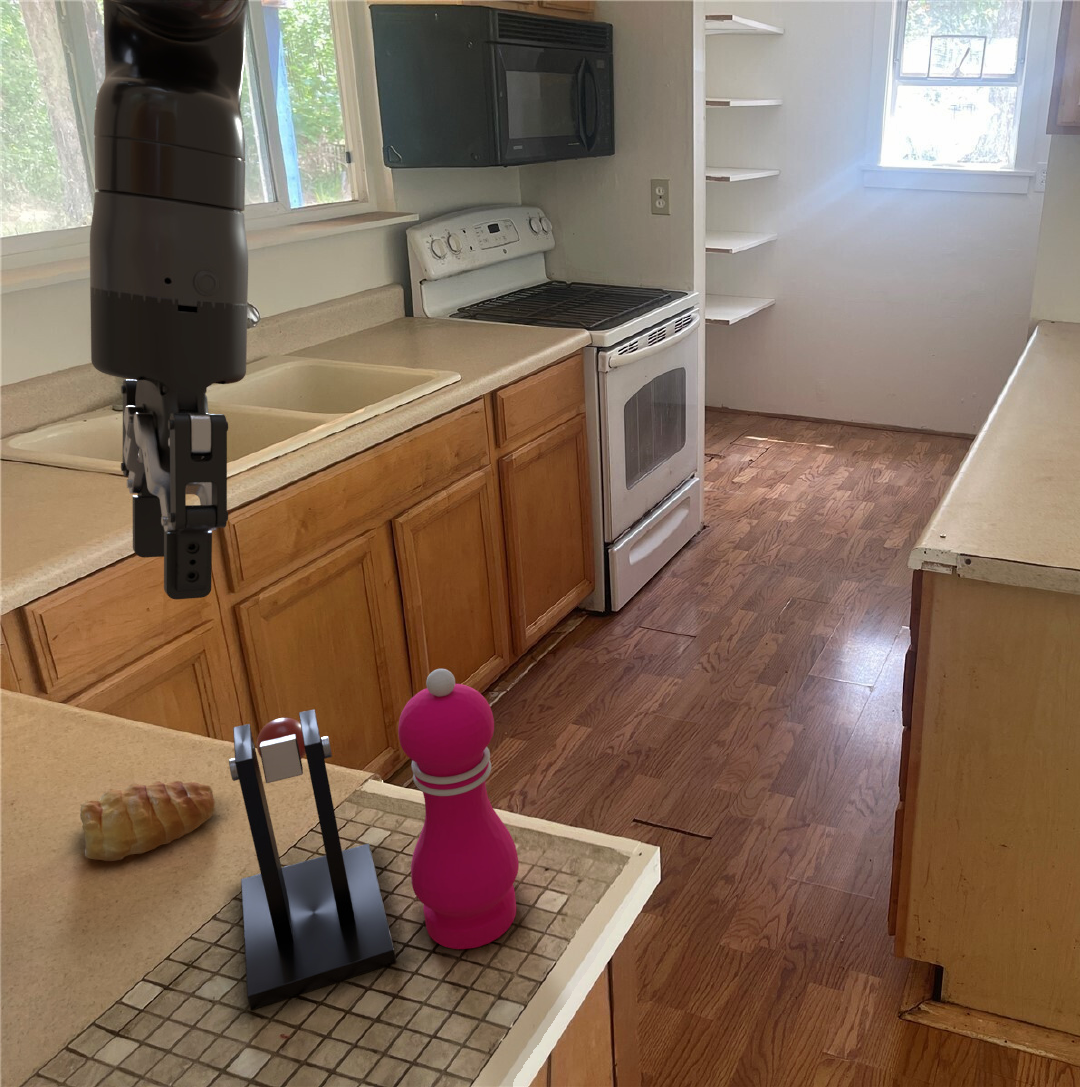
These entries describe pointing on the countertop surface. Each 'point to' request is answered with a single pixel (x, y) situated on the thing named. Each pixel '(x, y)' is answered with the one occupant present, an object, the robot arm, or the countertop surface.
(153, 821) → the pastry
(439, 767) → the pepper mill
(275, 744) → the lever
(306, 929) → the bracket
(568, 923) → the countertop surface
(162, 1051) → the countertop surface
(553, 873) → the countertop surface
